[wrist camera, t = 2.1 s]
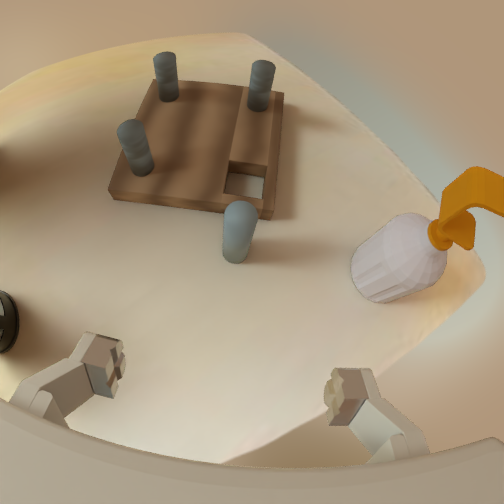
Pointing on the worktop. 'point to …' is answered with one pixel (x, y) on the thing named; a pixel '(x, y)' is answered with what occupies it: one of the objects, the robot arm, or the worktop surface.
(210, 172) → the stool
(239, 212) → the stool leg
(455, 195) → the white orange spray bottle
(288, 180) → the worktop surface
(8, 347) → the french press
